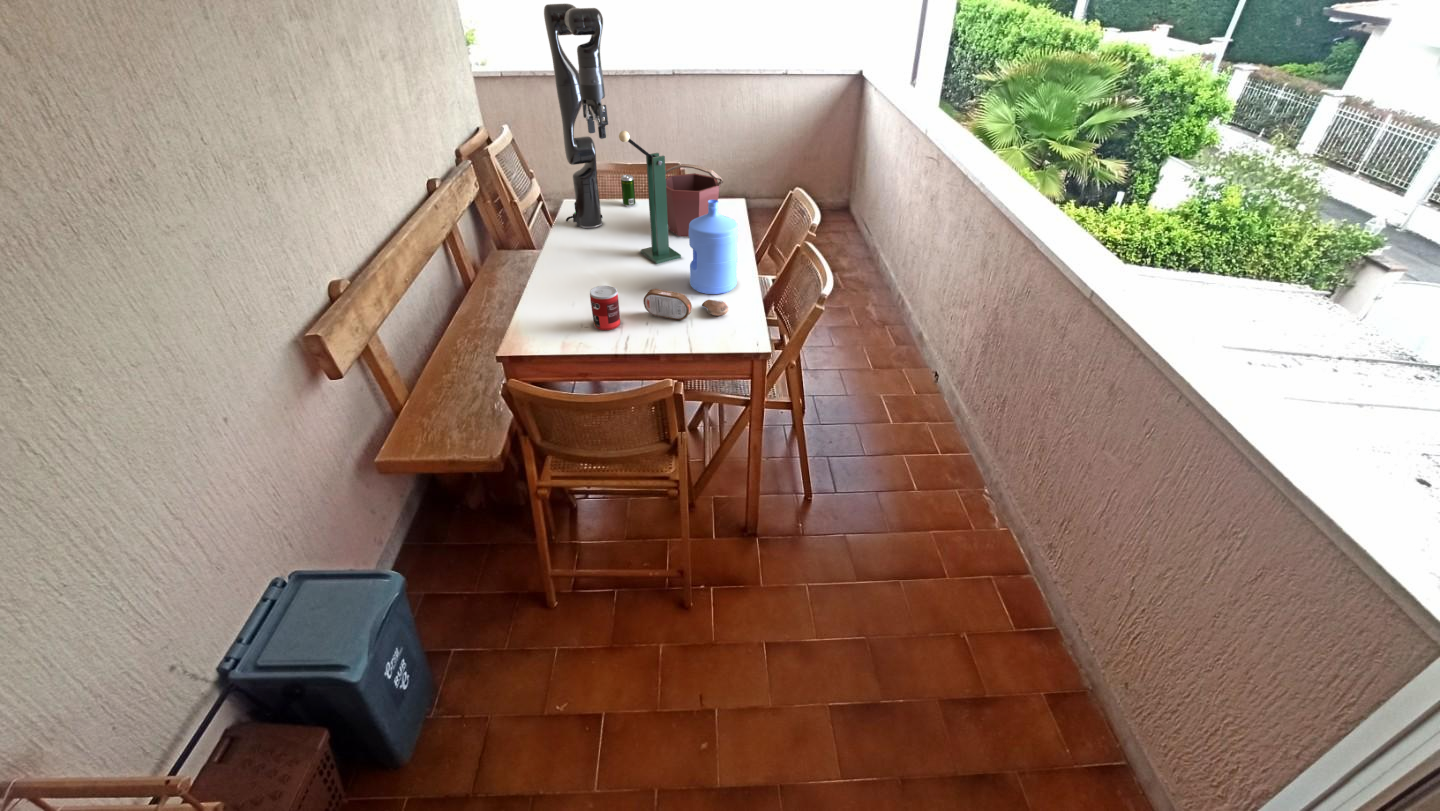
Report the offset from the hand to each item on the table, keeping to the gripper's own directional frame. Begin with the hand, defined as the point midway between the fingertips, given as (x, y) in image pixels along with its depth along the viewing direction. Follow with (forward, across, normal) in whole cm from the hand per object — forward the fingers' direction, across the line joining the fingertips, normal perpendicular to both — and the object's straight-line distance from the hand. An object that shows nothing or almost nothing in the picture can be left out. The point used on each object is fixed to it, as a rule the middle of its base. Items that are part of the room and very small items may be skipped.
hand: (597, 135), depth 213 cm
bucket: (+40, 0, -36) cm, 54 cm away
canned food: (+40, -51, +25) cm, 70 cm away
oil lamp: (+40, -62, -7) cm, 74 cm away
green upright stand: (+40, -15, -13) cm, 45 cm away
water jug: (+40, -45, -17) cm, 63 cm away
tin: (+40, -57, +7) cm, 70 cm away
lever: (+3, -15, -7) cm, 17 cm away
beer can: (+40, +40, -28) cm, 64 cm away
